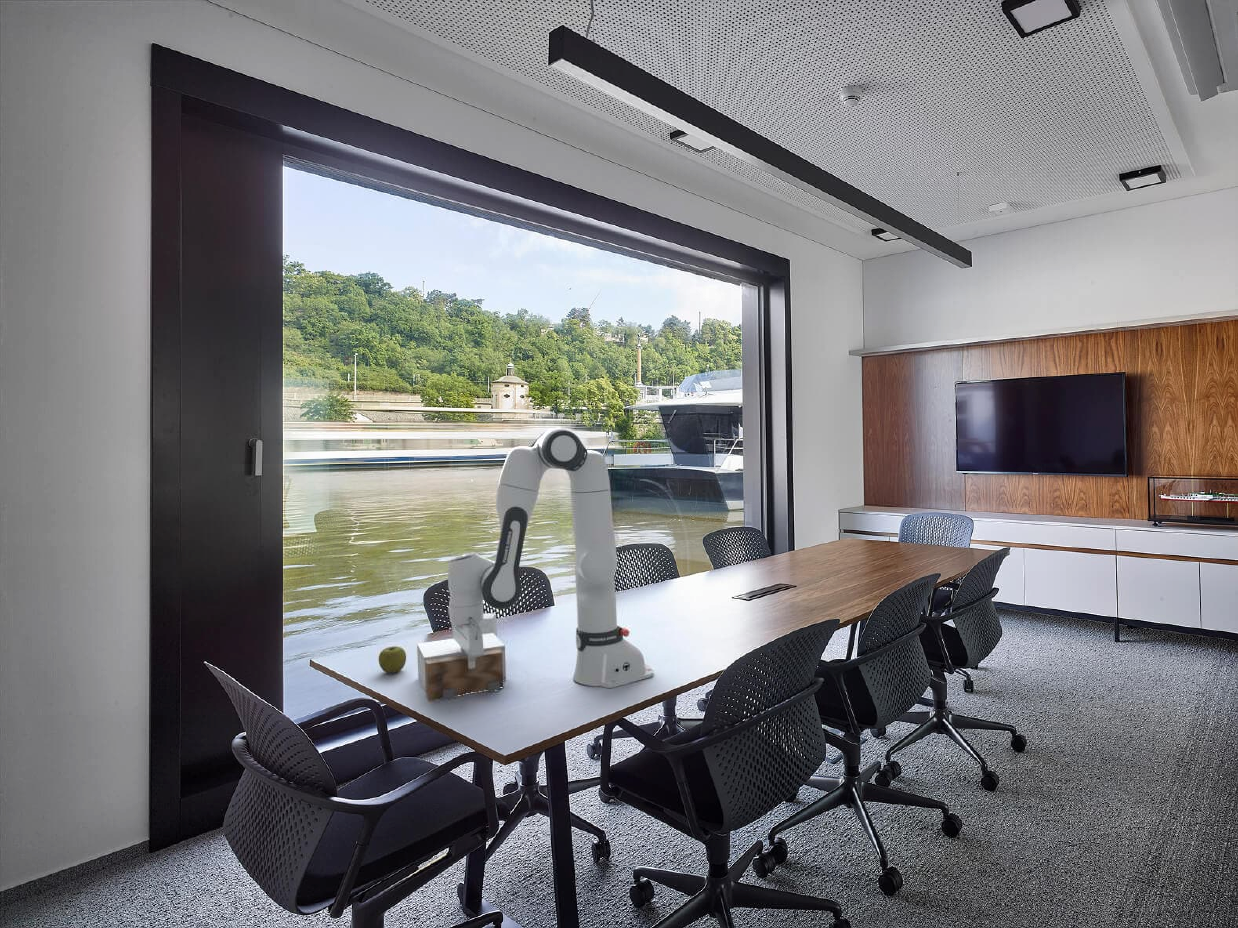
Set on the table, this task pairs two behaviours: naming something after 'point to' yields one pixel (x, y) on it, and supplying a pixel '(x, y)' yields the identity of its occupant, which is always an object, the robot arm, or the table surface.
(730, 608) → the table surface
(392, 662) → the apple
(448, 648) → the cabinet
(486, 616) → the small box
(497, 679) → the door
